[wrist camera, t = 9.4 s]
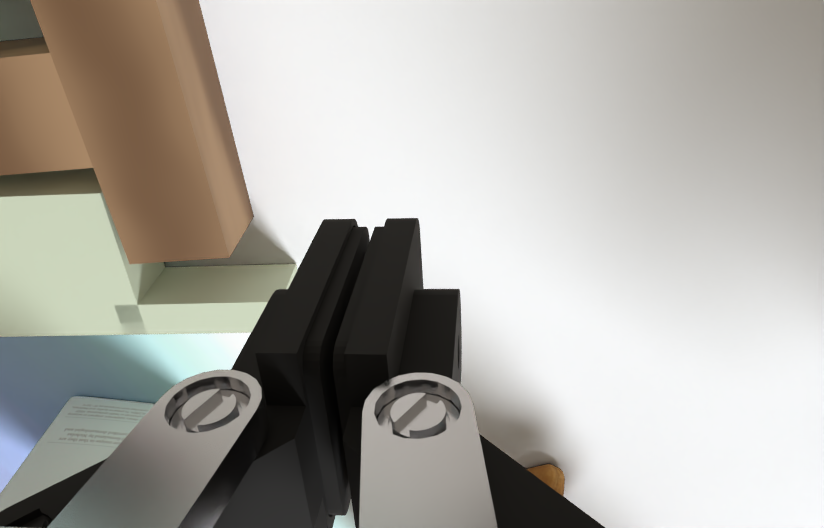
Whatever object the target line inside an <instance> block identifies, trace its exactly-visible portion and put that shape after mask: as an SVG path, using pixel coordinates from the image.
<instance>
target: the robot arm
mask: <svg viewBox="0 0 824 528" xmlns="http://www.w3.org/2000/svg"><path fill="white" fill-rule="evenodd" d="M460 383H461V303H460V290H459V289H423V275H422V258H421V242H420V227H419V220H418V218H401V219H387V220H386V222H385V225H384V227H375V228H374V231H373V234H372V237H371V240H370V241H369V233H368V229H367V227H358V225H357V222H356V220H355V219H324V220H323V222H322V223H321V225H320V227H319V229H318V231H317V233H316V235H315V237H314V239H313V241H312V243H311V245H310V247H309V249H308V251H307V253H306V255H305V257H304V259H303V261H302V263H301V264H300V266H299V268H298V270H297V272H296V274H295V276H294V278H293V280H292V282H291V284H290V286H289V288H288V289H278V290H275V292H274V293H273V294H272V296H271V298H270V299H269V301H268V303H267V305H266V307H265V309H264V310H263V312H262V314H261V316H260V318H259V320H258V321H257V323H256V325H255V327H254V329H253V331H252V332H251V334H250V336H249V338H248V340H247V342H246V343H245V345H244V347H243V349H242V351H241V353H240V354H239V356H238V358H237V360H236V362H235V364H234V365H233V367H232V369H231V370H214V371H209V372H203V373H200V374H198V375H195V376H192V377H189V378H187V379H185V380H183V381H181V382H180V383H178V384H176V385H175V386H173V387H172V388H171V389H169V390H168V391H167V392H166V393H165V394H164V395H163V396H162V397H161V398H160V399H159V400H158V401H157V402H156V403H155V405H154V406H153V407H152V408H151V409H150V410H149V411H148V413H147V414H146V415H145V416H144V417H143V418H142V419H141V421H140V422H139V423H138V424H137V425H136V426H135V427H134V429H133V430H132V431H131V432H130V433H129V434H128V435H127V437H126V438H125V439H124V440H123V441H122V442H121V443H120V445H119V446H118V447H117V448H116V449H115V450H114V451H113V453H112V454H111V455H110V456H109V457H108V458H107V459H105V460H103V461H101V462H99V463H97V464H94V465H92V466H90V467H88V468H86V469H84V470H82V471H80V472H78V473H76V474H74V475H72V476H70V477H68V478H66V479H64V480H62V481H60V482H58V483H56V484H54V485H52V486H50V487H48V488H46V489H44V490H42V491H40V492H38V493H36V494H34V495H32V496H30V497H28V498H26V499H24V500H22V501H20V502H18V503H16V504H14V505H12V506H10V507H8V508H6V509H4V510H2V511H1V512H0V528H332V527H333V523H334V519H335V515H346V513H347V511H348V507H349V503H350V499H352V506H353V512H354V519H355V525H356V528H605V527H603V526H602V525H601V524H599V523H598V522H597V521H595V520H594V519H593V518H591V517H590V516H589V515H587V514H586V513H585V512H583V511H582V510H581V509H579V508H578V507H577V506H575V505H574V504H573V503H571V502H570V501H568V500H567V499H566V498H564V497H563V496H562V495H560V494H559V493H558V492H556V491H555V490H554V489H552V488H551V487H550V486H548V485H547V484H546V483H544V482H543V481H542V480H540V479H539V478H538V477H536V476H535V475H533V474H532V473H531V472H529V471H528V470H527V469H525V468H524V467H523V466H521V465H520V464H519V463H517V462H516V461H515V460H513V459H512V458H511V457H509V456H508V455H507V454H505V453H504V452H503V451H501V450H500V449H498V448H497V447H496V446H494V445H493V444H492V443H490V442H489V441H488V440H486V439H485V438H484V437H482V436H481V435H480V434H479V430H478V425H477V420H476V415H475V410H474V405H473V402H472V399H471V397H470V395H469V393H468V391H467V390H466V389H465V388H464V387H463V386H461V385H460Z"/></svg>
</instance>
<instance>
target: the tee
mask: <svg viewBox="0 0 824 528" xmlns="http://www.w3.org/2000/svg"><path fill="white" fill-rule="evenodd" d="M30 2H31V4H32V7H33V9H34V12H35V15H36V17H37V20H38V23H39V25H40V28H41V31H42V33H43V36H44V37H39V38H29V39H20V40H10V41H1V42H0V175H12V174H24V173H36V172H48V171H60V170H73V169H85V168H93V169H94V171H95V174H96V176H97V179H98V182H99V184H100V187H101V190H102V192H103V195H104V198H105V200H106V203H107V206H108V208H109V211H110V214H111V216H112V219H113V222H114V224H115V227H116V229H117V232H118V235H119V237H120V240H121V243H122V245H123V248H124V251H125V253H126V256H127V259H128V261H129V264H142V263H157V262H172V261H187V260H202V259H217V258H230V256H231V254H232V253H233V251H234V249H235V247H236V246H237V244H238V242H239V241H240V239H241V237H242V236H243V234H244V232H245V230H246V229H247V227H248V225H249V224H250V222H251V220H252V219H253V217H254V216H253V212H252V208H251V204H250V200H249V196H248V192H247V188H246V184H245V180H244V176H243V172H242V169H241V165H240V161H239V157H238V153H237V149H236V145H235V141H234V137H233V133H232V129H231V125H230V121H229V117H228V114H227V110H226V106H225V102H224V98H223V94H222V90H221V86H220V82H219V78H218V74H217V70H216V66H215V63H214V59H213V55H212V51H211V47H210V43H209V39H208V35H207V31H206V27H205V23H204V19H203V15H202V11H201V8H200V4H199V0H30Z"/></svg>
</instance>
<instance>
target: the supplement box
mask: <svg viewBox="0 0 824 528" xmlns="http://www.w3.org/2000/svg"><path fill="white" fill-rule="evenodd" d="M154 405H155V404H153V403H143V402H135V401H125V400H115V399H105V398H96V397H83V396H74V397H71V398H70V399H69V400H68V401H67V403H66V404H65V405H64V407H63V408H62V410H61V411H60V412H59V414H58V415H57V417H56V418H55V419H54V421H53V422H52V423H51V425H50V426H49V427H48V429H47V430H46V431H45V433H44V434H43V436H42V437H41V438H40V440H39V441H38V442H37V444H36V445H35V447H34V448H33V449H32V451H31V452H30V454H29V455H28V456H27V458H26V459H25V460H24V462H23V463H22V465H21V466H20V467H19V469H18V470H17V471H16V473H15V474H14V476H13V477H12V478H11V480H10V481H9V482H8V484H7V485H6V487H5V488H4V489H3V491H2V492H1V493H0V512H1V511H2V510H4V509H6V508H8V507H10V506H12V505H14V504H16V503H18V502H20V501H22V500H24V499H26V498H28V497H30V496H32V495H34V494H36V493H38V492H40V491H42V490H44V489H46V488H48V487H50V486H52V485H54V484H56V483H58V482H60V481H62V480H64V479H66V478H68V477H70V476H72V475H74V474H76V473H78V472H80V471H82V470H84V469H86V468H88V467H90V466H92V465H94V464H97V463H99V462H101V461H103V460H105V459H107V458H108V457H109V456H110V455H111V454H112V453H113V451H114V450H115V449H116V448H117V447H118V446H119V445H120V443H121V442H122V441H123V440H124V439H125V438H126V437H127V435H128V434H129V433H130V432H131V431H132V430H133V429H134V427H135V426H136V425H137V424H138V423H139V422H140V421H141V419H142V418H143V417H144V416H145V415H146V414H147V413H148V411H149V410H150V409H151V408H152V407H153V406H154Z"/></svg>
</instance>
